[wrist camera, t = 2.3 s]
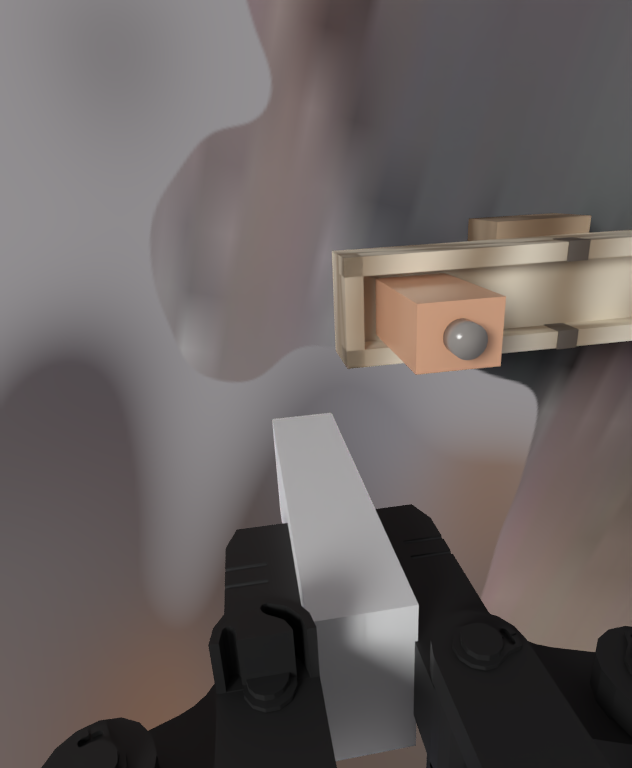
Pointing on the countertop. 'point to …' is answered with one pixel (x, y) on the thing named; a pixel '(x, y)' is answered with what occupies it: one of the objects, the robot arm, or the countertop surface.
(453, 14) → the countertop surface
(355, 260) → the beam
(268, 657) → the robot arm
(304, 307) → the countertop surface
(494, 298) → the block
